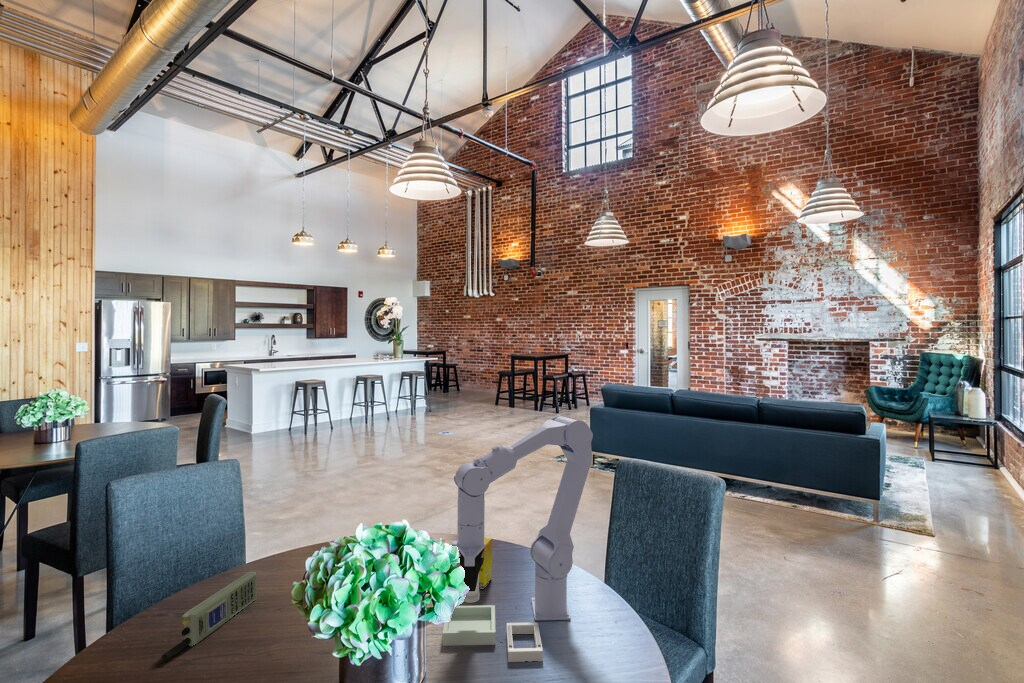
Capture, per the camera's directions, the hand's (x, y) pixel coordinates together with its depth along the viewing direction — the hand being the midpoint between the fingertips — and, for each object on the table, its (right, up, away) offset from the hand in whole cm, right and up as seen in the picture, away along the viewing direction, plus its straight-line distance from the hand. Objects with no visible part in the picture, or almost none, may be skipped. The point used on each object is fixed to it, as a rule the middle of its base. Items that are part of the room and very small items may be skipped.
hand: (470, 585), depth 107 cm
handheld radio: (-55, -10, +1) cm, 56 cm away
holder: (+11, -10, -5) cm, 16 cm away
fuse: (0, -3, 0) cm, 3 cm away
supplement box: (0, -10, +21) cm, 23 cm away
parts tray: (0, -9, 0) cm, 9 cm away
